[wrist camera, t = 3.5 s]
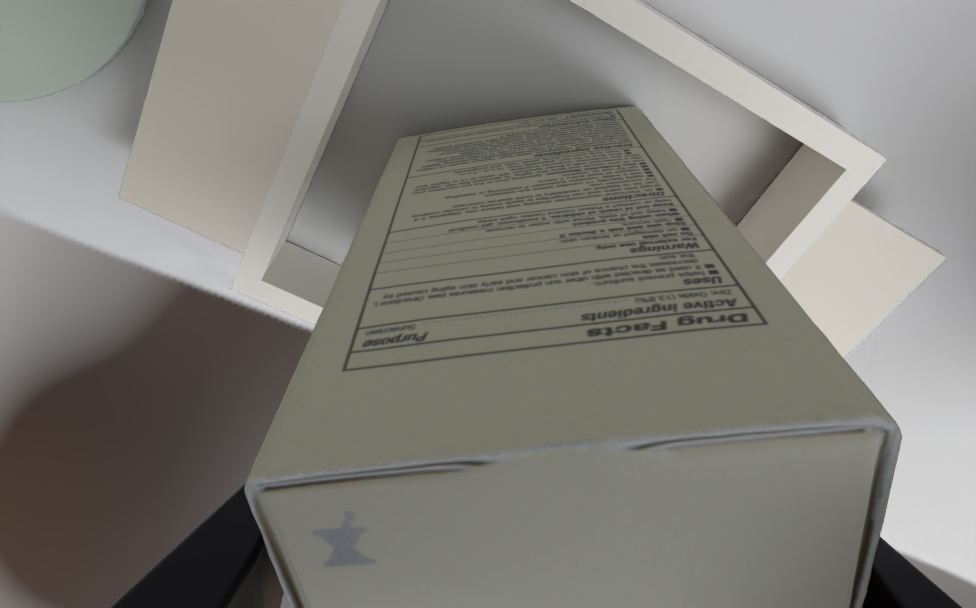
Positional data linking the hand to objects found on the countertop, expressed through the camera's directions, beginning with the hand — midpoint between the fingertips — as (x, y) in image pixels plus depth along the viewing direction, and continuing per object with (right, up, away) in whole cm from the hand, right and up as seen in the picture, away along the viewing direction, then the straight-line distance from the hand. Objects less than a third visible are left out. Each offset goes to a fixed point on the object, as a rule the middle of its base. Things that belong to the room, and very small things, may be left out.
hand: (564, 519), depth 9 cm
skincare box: (0, +6, +9) cm, 11 cm away
